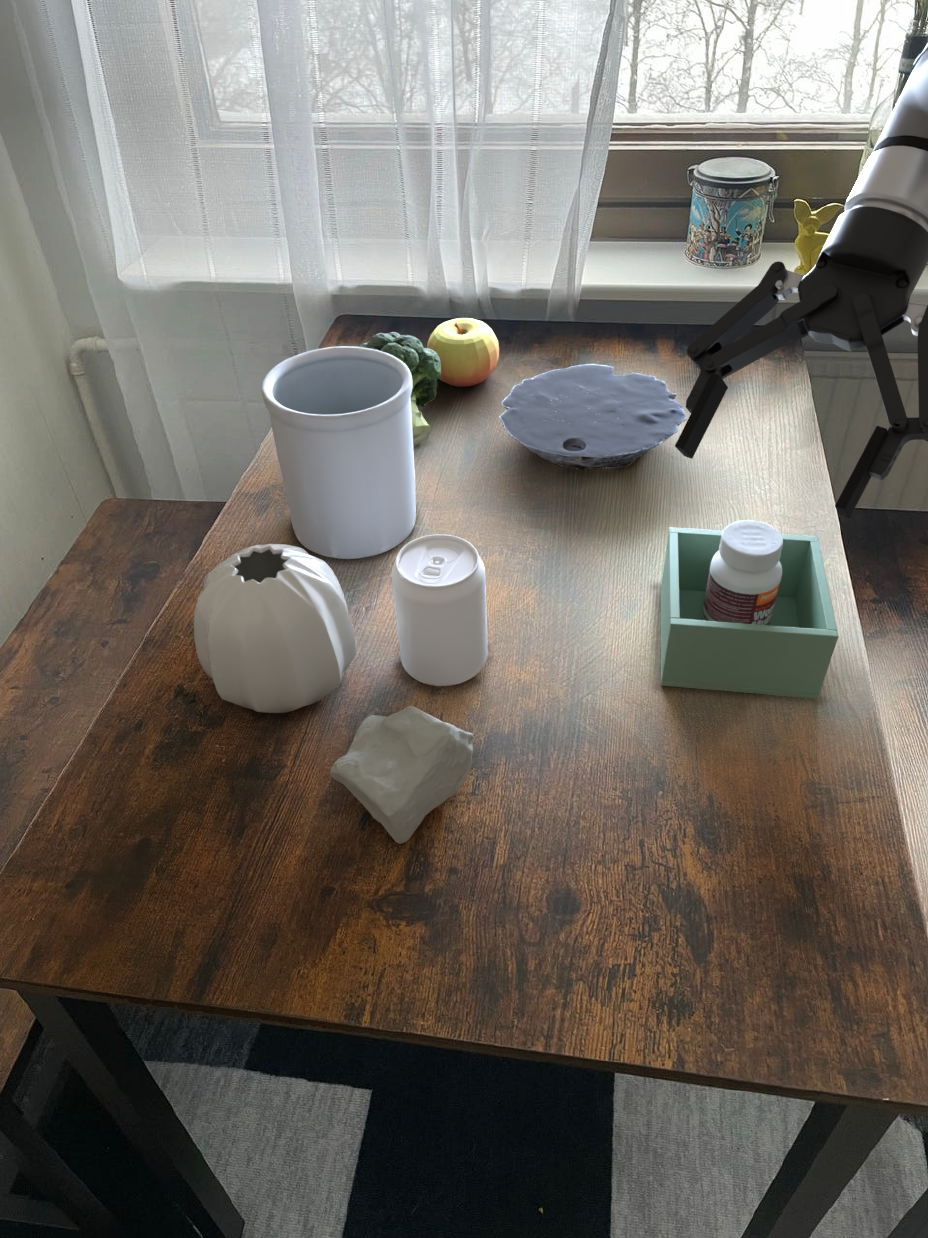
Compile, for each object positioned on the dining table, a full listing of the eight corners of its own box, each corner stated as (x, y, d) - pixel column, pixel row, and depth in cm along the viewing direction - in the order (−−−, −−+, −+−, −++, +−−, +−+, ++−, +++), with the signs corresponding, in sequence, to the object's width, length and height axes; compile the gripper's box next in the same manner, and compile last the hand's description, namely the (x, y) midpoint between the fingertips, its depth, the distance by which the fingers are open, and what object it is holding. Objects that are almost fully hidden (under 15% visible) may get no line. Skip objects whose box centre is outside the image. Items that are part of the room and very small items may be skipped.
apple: (414, 376, 127) (409, 320, 122) (470, 354, 131) (468, 299, 126) (457, 403, 121) (454, 346, 116) (514, 379, 125) (514, 323, 120)
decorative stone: (374, 706, 80) (432, 660, 73) (446, 781, 81) (511, 742, 73) (296, 790, 73) (353, 747, 65) (377, 871, 73) (442, 838, 66)
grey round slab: (593, 517, 102) (595, 478, 98) (463, 441, 114) (461, 404, 111) (717, 442, 112) (724, 404, 109) (585, 380, 125) (587, 344, 121)
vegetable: (347, 451, 110) (312, 351, 114) (407, 478, 120) (374, 386, 125) (426, 395, 105) (386, 293, 109) (482, 429, 115) (444, 335, 120)
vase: (365, 720, 81) (347, 607, 72) (206, 741, 80) (166, 629, 71) (356, 616, 91) (339, 505, 82) (215, 634, 90) (181, 523, 81)
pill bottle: (757, 664, 84) (781, 567, 76) (690, 644, 86) (707, 548, 78) (772, 621, 88) (797, 526, 80) (708, 604, 90) (726, 509, 82)
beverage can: (498, 638, 88) (496, 538, 80) (473, 698, 83) (468, 598, 74) (418, 623, 90) (408, 524, 82) (388, 681, 85) (375, 581, 76)
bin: (818, 699, 81) (838, 636, 76) (660, 685, 83) (670, 623, 78) (801, 597, 91) (818, 536, 86) (660, 587, 93) (669, 526, 88)
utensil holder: (357, 469, 111) (338, 331, 99) (450, 514, 103) (442, 371, 91) (262, 528, 103) (229, 385, 91) (356, 581, 95) (333, 433, 83)
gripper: (1061, 290, 67) (921, 551, 69) (750, 221, 80) (639, 444, 82) (1068, 238, 61) (914, 528, 63) (729, 172, 74) (609, 415, 76)
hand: (758, 481), depth 73 cm, fingers open, 13 cm apart
